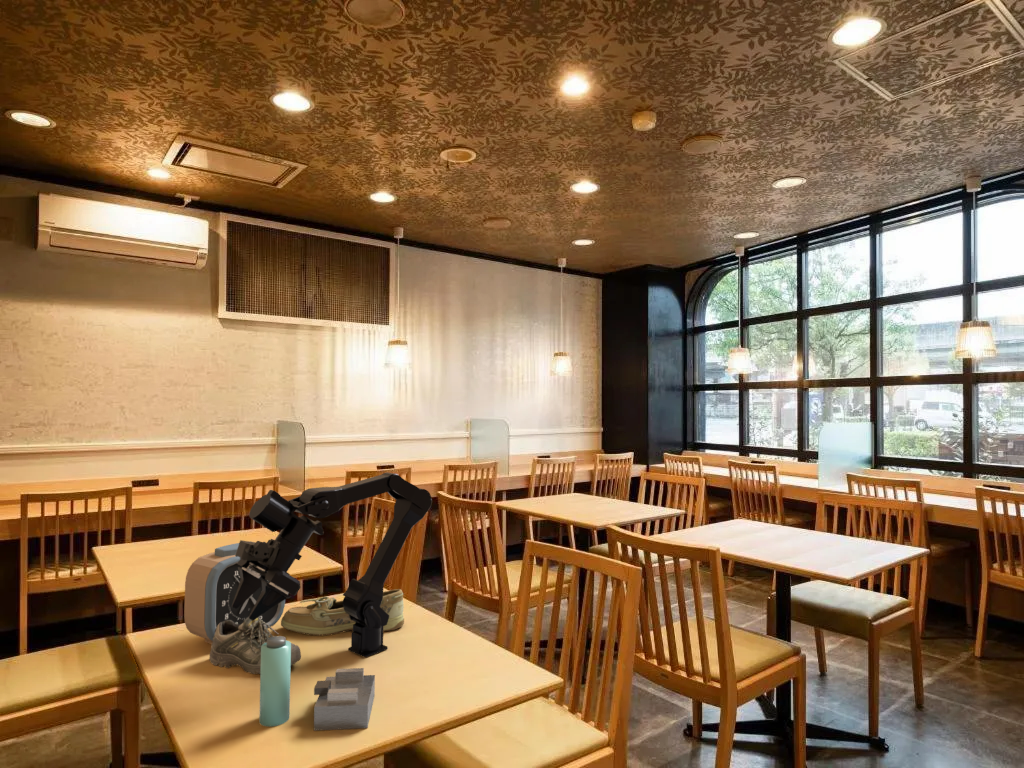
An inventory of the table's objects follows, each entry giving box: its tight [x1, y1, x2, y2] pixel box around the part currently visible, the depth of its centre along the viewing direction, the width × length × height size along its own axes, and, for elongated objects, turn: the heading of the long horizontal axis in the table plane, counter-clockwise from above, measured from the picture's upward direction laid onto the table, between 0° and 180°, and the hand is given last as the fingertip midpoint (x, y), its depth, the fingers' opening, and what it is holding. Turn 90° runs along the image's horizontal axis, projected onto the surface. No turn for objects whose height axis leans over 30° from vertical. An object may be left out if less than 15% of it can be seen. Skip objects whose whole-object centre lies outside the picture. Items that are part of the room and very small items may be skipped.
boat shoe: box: [280, 588, 405, 636], centre depth 159 cm, size 11×30×9 cm, turn 101°
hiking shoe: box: [208, 617, 302, 675], centre depth 136 cm, size 9×21×12 cm
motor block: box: [313, 667, 376, 731], centre depth 115 cm, size 12×10×6 cm
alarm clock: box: [183, 541, 286, 645], centre depth 151 cm, size 21×10×22 cm, turn 148°
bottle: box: [258, 635, 292, 727], centre depth 113 cm, size 5×5×14 cm
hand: (241, 613), depth 125 cm, fingers open, 9 cm apart
